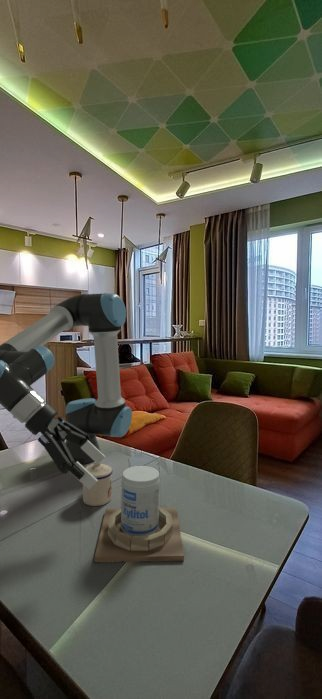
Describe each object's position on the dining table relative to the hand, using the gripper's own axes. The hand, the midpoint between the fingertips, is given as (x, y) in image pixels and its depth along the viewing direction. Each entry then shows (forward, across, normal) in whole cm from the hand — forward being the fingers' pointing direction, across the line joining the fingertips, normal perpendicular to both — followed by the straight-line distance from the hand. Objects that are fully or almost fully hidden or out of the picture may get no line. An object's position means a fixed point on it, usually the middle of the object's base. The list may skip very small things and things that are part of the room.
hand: (98, 471), depth 83 cm
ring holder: (+19, 0, -4) cm, 20 cm away
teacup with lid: (+10, -19, -14) cm, 25 cm away
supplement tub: (+18, 0, -4) cm, 19 cm away
